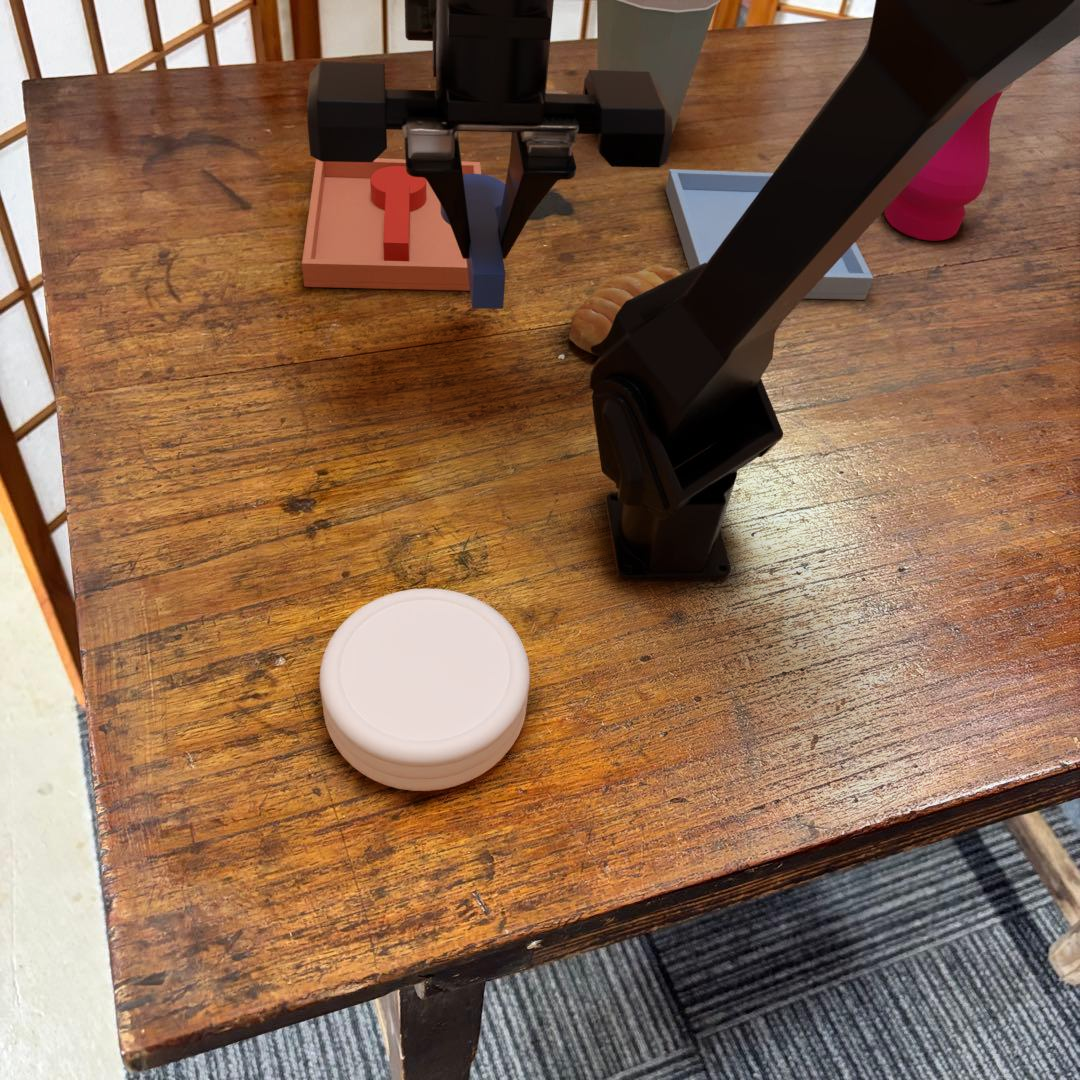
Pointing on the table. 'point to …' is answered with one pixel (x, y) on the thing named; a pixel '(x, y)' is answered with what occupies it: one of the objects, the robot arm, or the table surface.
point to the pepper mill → (947, 181)
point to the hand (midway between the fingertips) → (483, 254)
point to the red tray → (375, 235)
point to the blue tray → (716, 206)
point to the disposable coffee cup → (654, 41)
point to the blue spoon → (484, 240)
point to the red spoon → (397, 207)
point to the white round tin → (424, 688)
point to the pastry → (612, 304)
